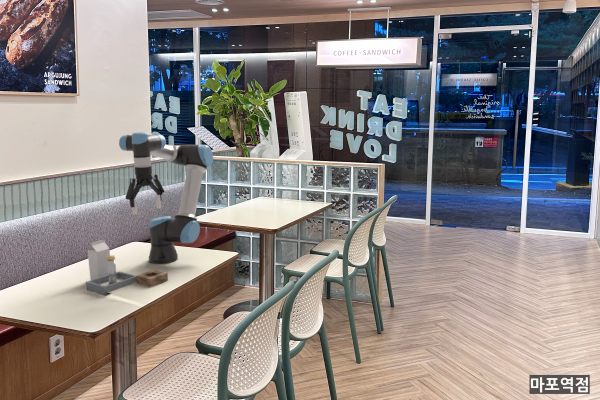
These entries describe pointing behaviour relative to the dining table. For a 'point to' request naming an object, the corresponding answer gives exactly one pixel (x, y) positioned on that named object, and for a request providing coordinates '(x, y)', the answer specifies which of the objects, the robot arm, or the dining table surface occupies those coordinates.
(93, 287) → the tray
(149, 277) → the block
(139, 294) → the dining table surface
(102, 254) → the milk carton
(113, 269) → the small bottle
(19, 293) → the dining table surface
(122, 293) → the dining table surface
